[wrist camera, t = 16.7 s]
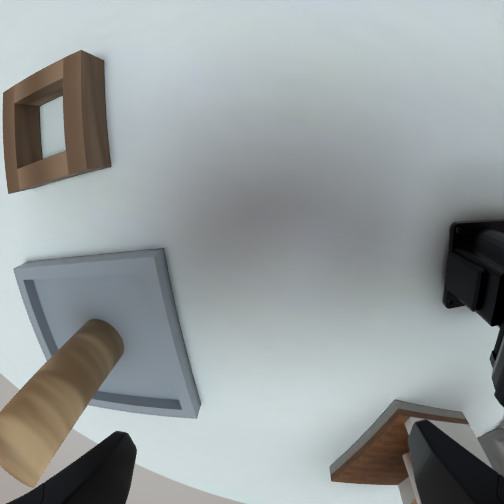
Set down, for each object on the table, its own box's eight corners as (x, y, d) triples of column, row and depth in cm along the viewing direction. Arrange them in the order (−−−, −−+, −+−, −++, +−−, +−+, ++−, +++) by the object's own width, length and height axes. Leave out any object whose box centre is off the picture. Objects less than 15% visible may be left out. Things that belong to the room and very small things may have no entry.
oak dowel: (115, 319, 21) (5, 451, 8) (130, 361, 22) (47, 496, 9) (77, 318, 22) (-32, 428, 8) (92, 358, 23) (5, 472, 9)
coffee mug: (473, 470, 27) (491, 514, 18) (434, 475, 27) (453, 527, 17) (529, 409, 23) (559, 453, 14) (499, 408, 23) (533, 462, 13)
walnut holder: (103, 60, 16) (81, 49, 13) (110, 166, 18) (86, 169, 16) (27, 95, 17) (3, 92, 14) (33, 188, 19) (8, 193, 16)
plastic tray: (163, 248, 20) (153, 256, 18) (201, 404, 24) (196, 418, 22) (26, 262, 21) (13, 269, 19) (75, 389, 25) (67, 400, 23)
